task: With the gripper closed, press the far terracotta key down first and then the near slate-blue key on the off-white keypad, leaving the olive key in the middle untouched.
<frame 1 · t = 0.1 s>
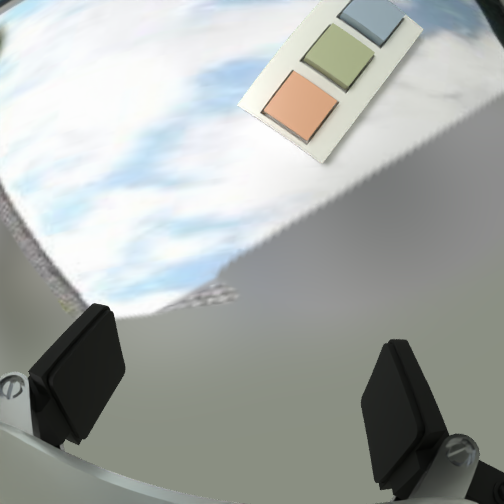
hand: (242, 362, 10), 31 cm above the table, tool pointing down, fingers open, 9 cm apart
terracotta key: (300, 105, 31), point 4 cm above the table, slide at 0.0 cm
slate blue key: (373, 14, 25), point 4 cm above the table, slide at 0.0 cm
olive key: (339, 55, 28), point 4 cm above the table, slide at 0.0 cm
keypad: (334, 63, 31), on the table
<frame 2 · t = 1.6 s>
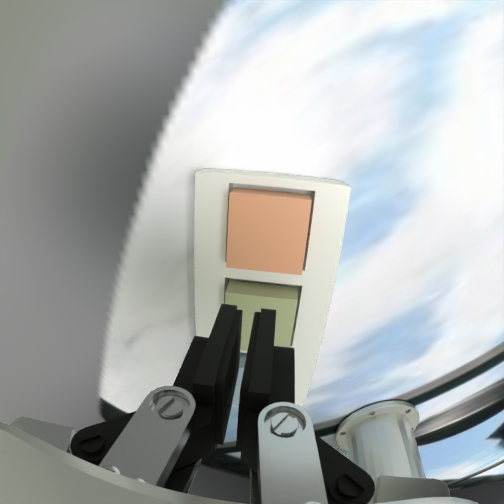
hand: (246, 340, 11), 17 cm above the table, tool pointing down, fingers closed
terracotta key: (267, 230, 23), point 4 cm above the table, slide at 0.0 cm
slate blue key: (253, 381, 29), point 4 cm above the table, slide at 0.0 cm
olive key: (259, 318, 26), point 4 cm above the table, slide at 0.0 cm
keypad: (262, 297, 29), on the table
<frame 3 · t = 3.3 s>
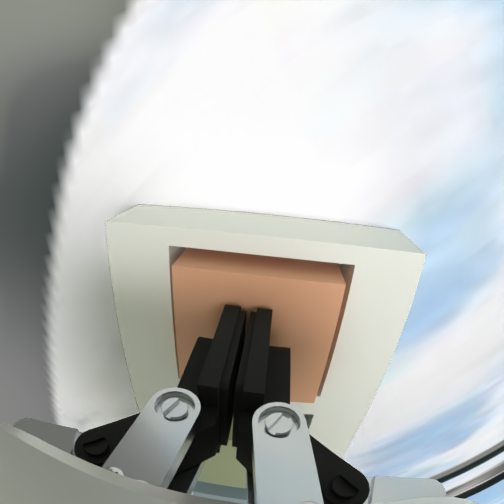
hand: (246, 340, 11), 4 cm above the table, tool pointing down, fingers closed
terracotta key: (254, 329, 12), point 3 cm above the table, slide at 1.0 cm, touching gripper
slate blue key: (236, 499, 17), point 4 cm above the table, slide at 0.0 cm
olive key: (241, 452, 14), point 4 cm above the table, slide at 0.0 cm
keypad: (249, 405, 17), on the table
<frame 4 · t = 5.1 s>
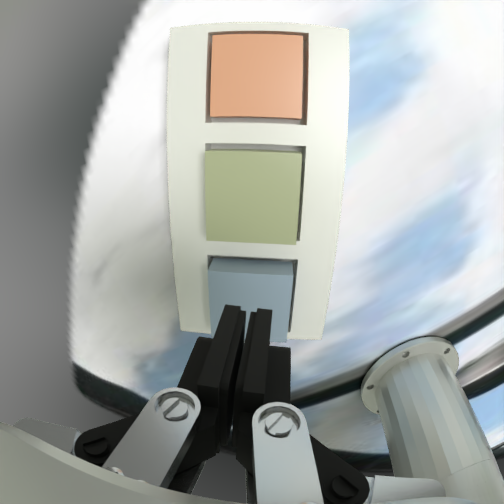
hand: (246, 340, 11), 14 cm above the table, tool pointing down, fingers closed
terracotta key: (257, 76, 18), point 2 cm above the table, slide at 1.4 cm
slate blue key: (250, 301, 23), point 4 cm above the table, slide at 0.0 cm
olive key: (253, 194, 19), point 4 cm above the table, slide at 0.0 cm
keypad: (256, 184, 23), on the table
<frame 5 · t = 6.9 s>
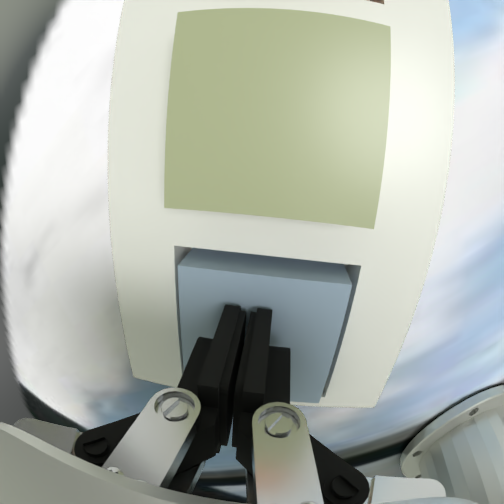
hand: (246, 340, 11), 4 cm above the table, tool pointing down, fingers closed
slate blue key: (259, 329, 12), point 3 cm above the table, slide at 1.1 cm, touching gripper
olive key: (278, 111, 8), point 4 cm above the table, slide at 0.0 cm
keypad: (281, 120, 11), on the table
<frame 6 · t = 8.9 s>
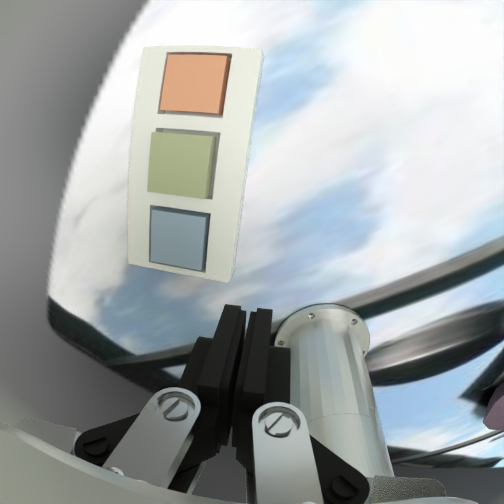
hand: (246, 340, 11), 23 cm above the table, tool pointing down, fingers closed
terracotta key: (195, 84, 26), point 2 cm above the table, slide at 1.4 cm
slate blue key: (179, 237, 32), point 2 cm above the table, slide at 1.4 cm
olive key: (181, 163, 27), point 4 cm above the table, slide at 0.0 cm
keypad: (192, 160, 31), on the table
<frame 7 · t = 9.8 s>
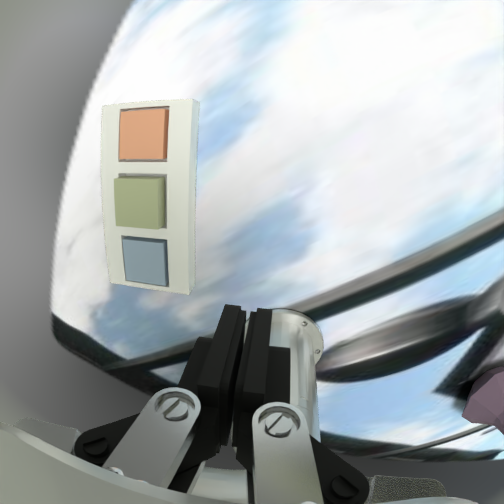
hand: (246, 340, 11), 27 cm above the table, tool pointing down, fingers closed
terracotta key: (144, 134, 32), point 2 cm above the table, slide at 1.4 cm
slate blue key: (147, 259, 38), point 2 cm above the table, slide at 1.4 cm
olive key: (139, 201, 34), point 4 cm above the table, slide at 0.0 cm
flask: (486, 382, 44), on the table
keypad: (151, 195, 37), on the table
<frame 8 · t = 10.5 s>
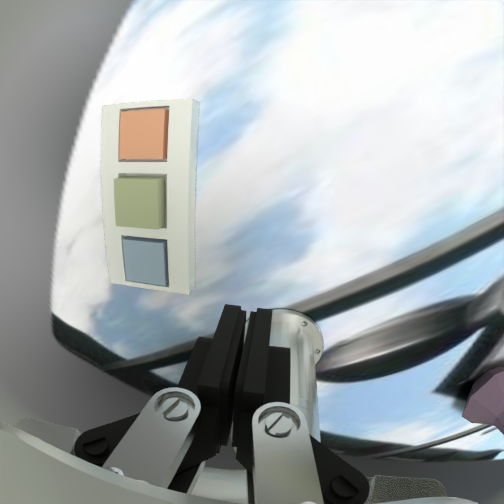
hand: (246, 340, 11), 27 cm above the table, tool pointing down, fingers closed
terracotta key: (144, 134, 32), point 2 cm above the table, slide at 1.4 cm
slate blue key: (146, 259, 38), point 2 cm above the table, slide at 1.4 cm
olive key: (139, 201, 34), point 4 cm above the table, slide at 0.0 cm
flask: (486, 382, 44), on the table
keypad: (151, 195, 37), on the table
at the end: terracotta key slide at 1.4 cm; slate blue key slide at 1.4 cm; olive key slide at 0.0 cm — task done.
